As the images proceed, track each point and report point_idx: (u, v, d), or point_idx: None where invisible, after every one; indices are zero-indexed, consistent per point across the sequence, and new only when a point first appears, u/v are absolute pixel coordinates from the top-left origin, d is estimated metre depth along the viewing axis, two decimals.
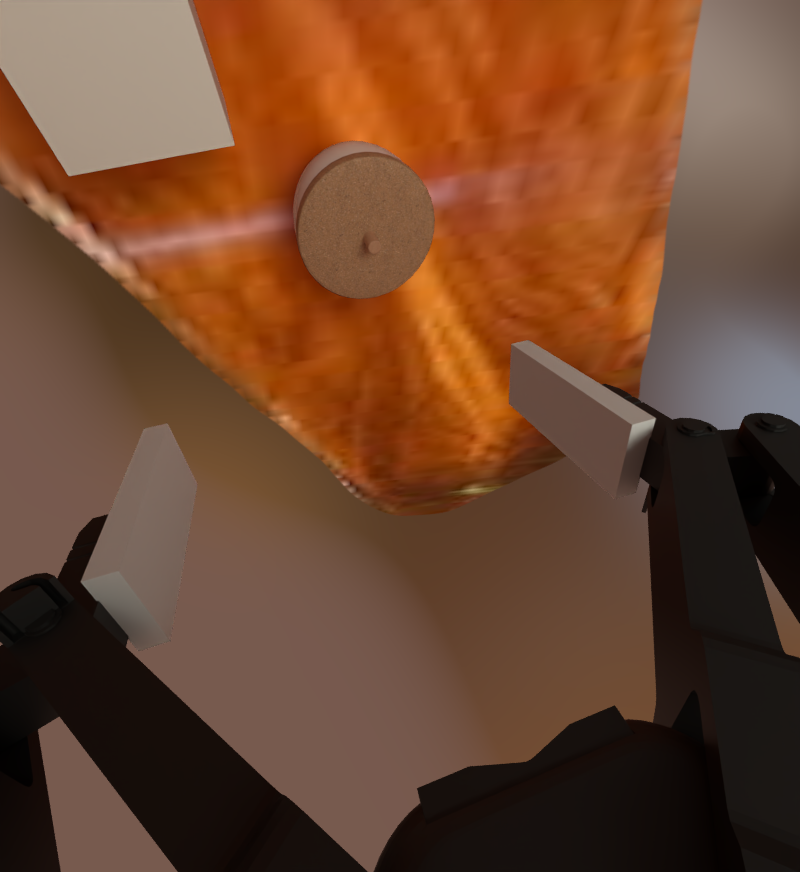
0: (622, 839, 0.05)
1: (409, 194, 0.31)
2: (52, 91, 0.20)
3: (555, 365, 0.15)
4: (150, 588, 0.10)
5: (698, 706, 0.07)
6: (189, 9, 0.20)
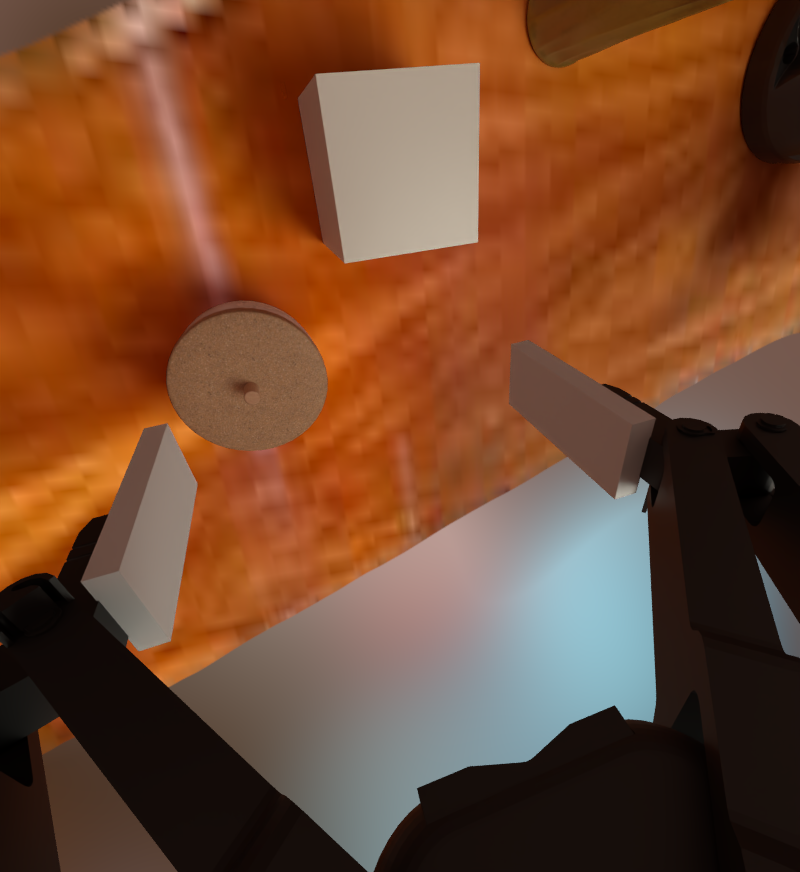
0: (622, 839, 0.05)
1: (297, 420, 0.32)
2: (385, 106, 0.23)
3: (555, 365, 0.15)
4: (150, 588, 0.10)
5: (698, 706, 0.07)
6: (428, 249, 0.27)
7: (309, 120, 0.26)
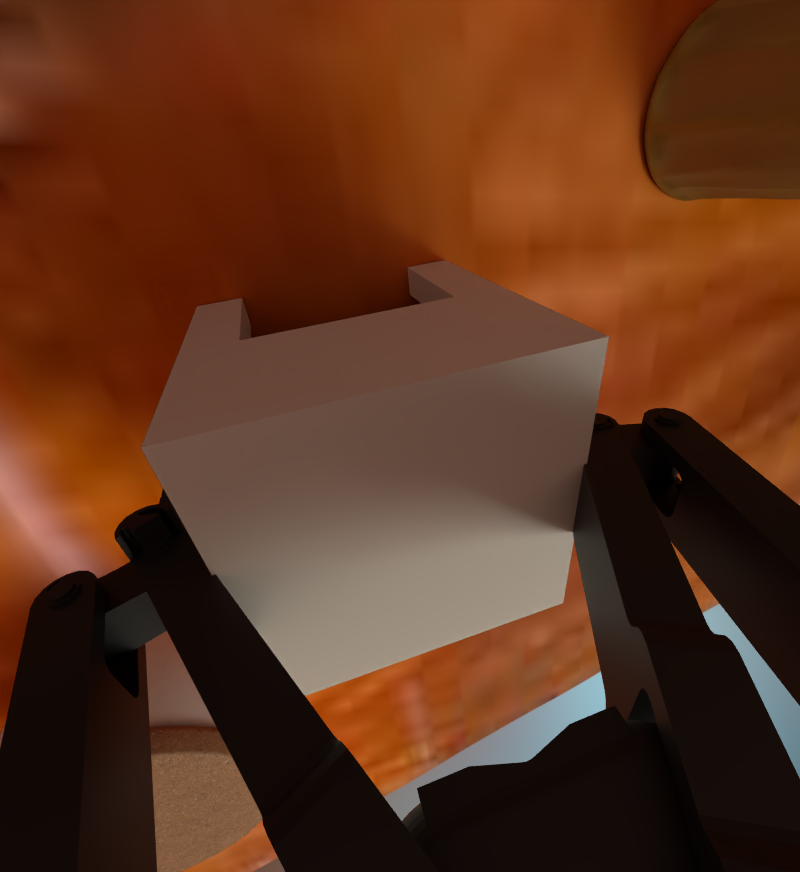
0: (621, 839, 0.05)
1: (225, 838, 0.18)
2: (358, 465, 0.09)
3: None
4: None
5: (647, 701, 0.07)
6: (463, 637, 0.13)
7: None
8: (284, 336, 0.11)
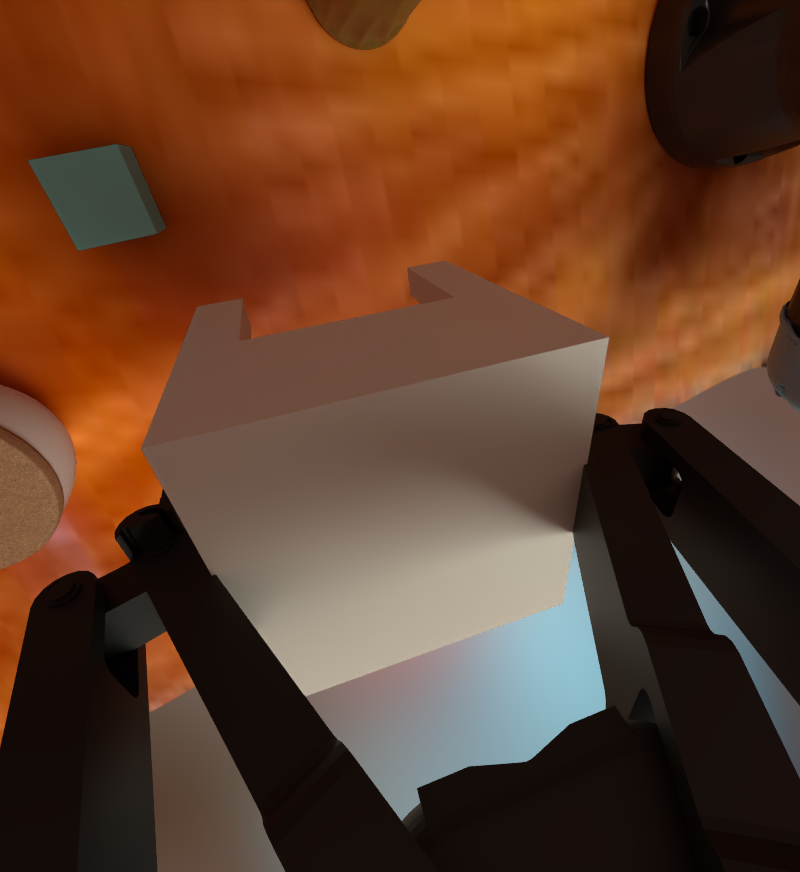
0: (621, 839, 0.05)
1: (21, 536, 0.24)
2: (359, 465, 0.09)
3: None
4: None
5: (647, 701, 0.07)
6: (463, 638, 0.13)
7: None
8: (285, 337, 0.11)
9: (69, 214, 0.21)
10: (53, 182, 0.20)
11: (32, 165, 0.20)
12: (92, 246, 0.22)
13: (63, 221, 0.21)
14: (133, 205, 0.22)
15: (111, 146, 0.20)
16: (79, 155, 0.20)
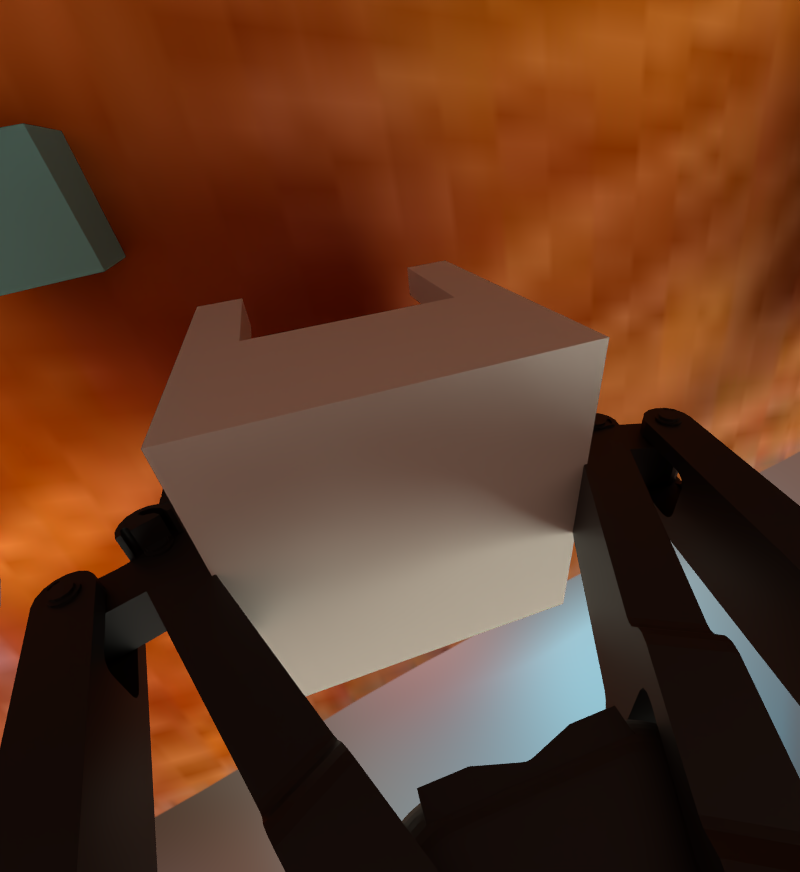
0: (621, 839, 0.05)
1: None
2: (359, 466, 0.09)
3: None
4: None
5: (647, 701, 0.07)
6: (463, 638, 0.13)
7: None
8: (284, 337, 0.11)
9: None
10: None
11: None
12: None
13: None
14: (61, 227, 0.13)
15: (13, 127, 0.12)
16: None
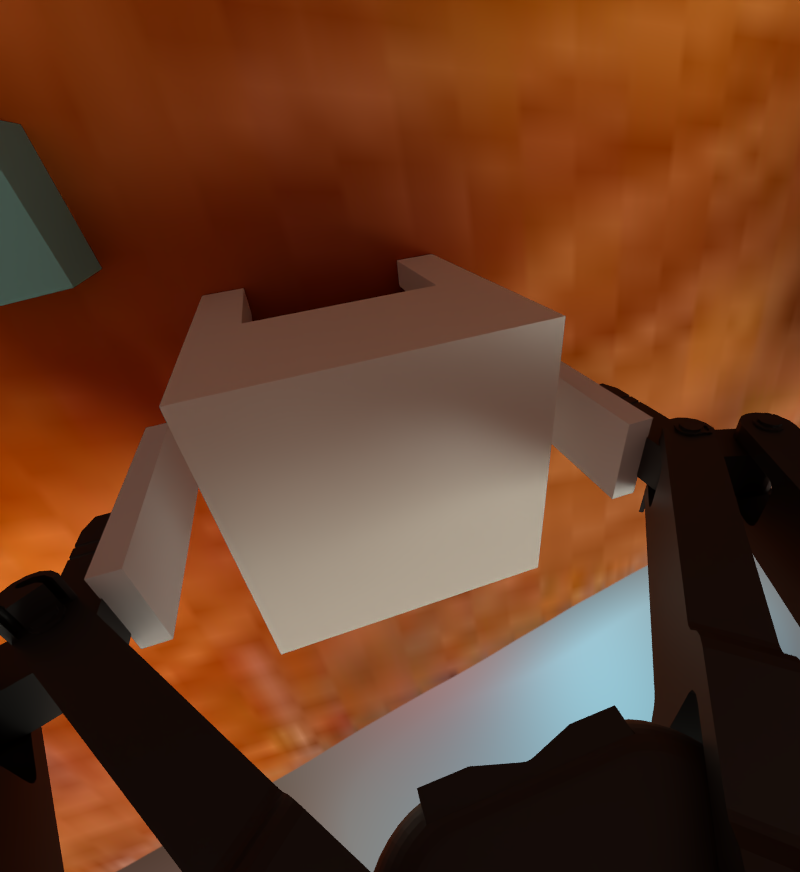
0: (622, 839, 0.05)
1: None
2: (346, 428, 0.10)
3: None
4: (152, 586, 0.10)
5: (696, 706, 0.07)
6: (446, 597, 0.14)
7: None
8: (282, 319, 0.12)
9: None
10: None
11: None
12: None
13: None
14: (19, 237, 0.11)
15: None
16: None
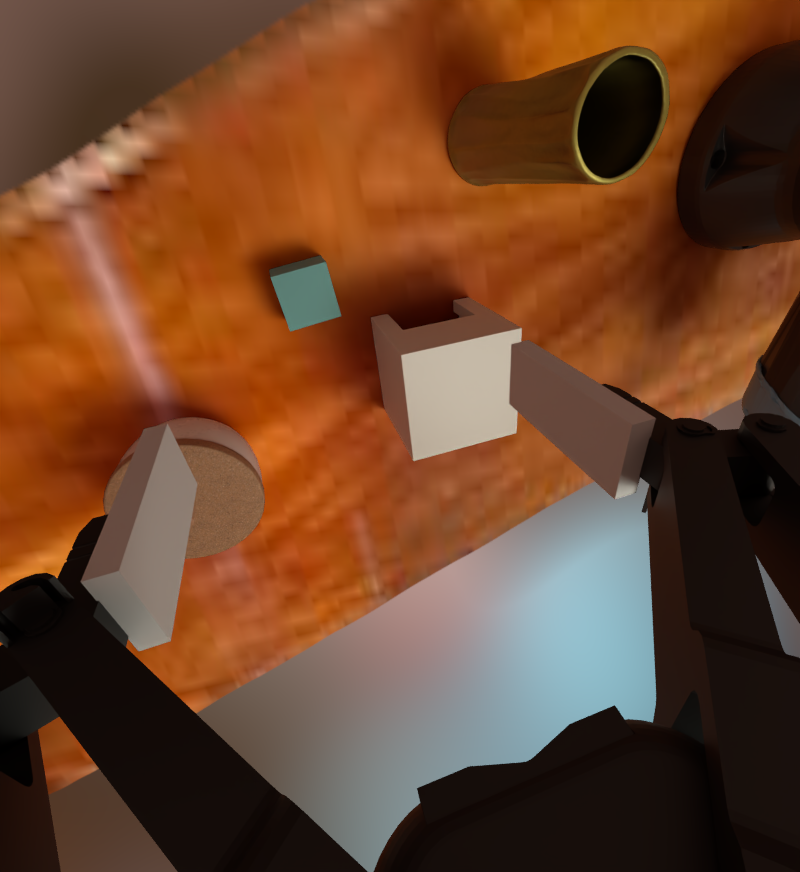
0: (622, 839, 0.05)
1: (237, 530, 0.33)
2: (450, 364, 0.30)
3: (555, 365, 0.15)
4: (150, 588, 0.10)
5: (698, 706, 0.07)
6: (477, 442, 0.34)
7: (384, 350, 0.33)
8: (419, 328, 0.32)
9: (289, 308, 0.31)
10: (283, 289, 0.30)
11: (272, 280, 0.30)
12: (299, 327, 0.32)
13: (284, 313, 0.31)
14: (329, 299, 0.31)
15: (322, 263, 0.30)
16: (301, 271, 0.30)
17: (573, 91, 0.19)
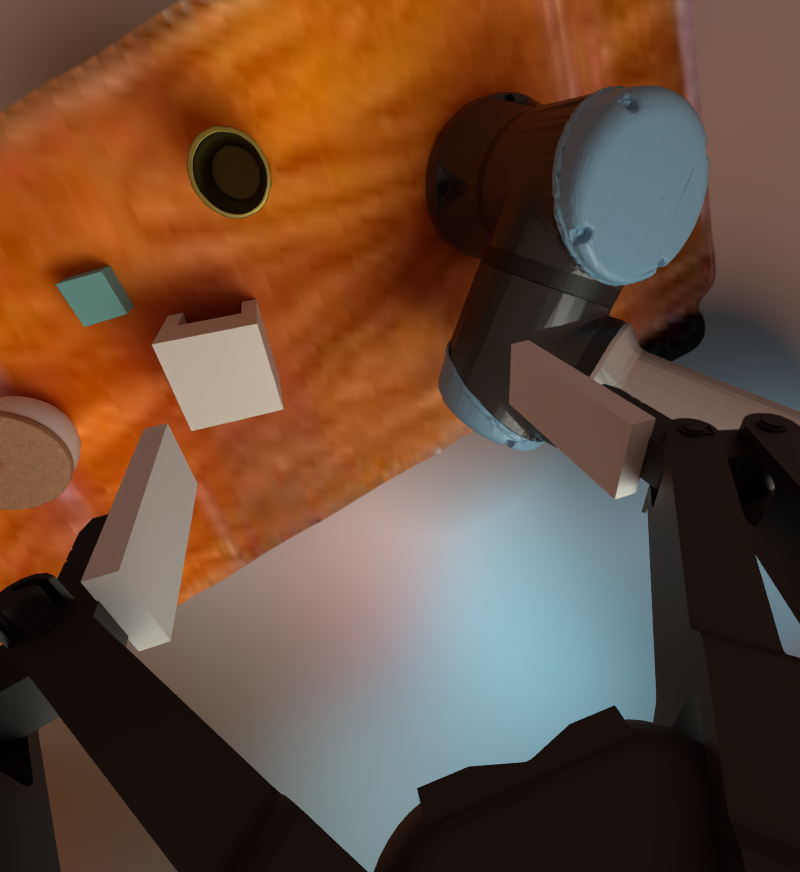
0: (621, 839, 0.05)
1: (49, 486, 0.42)
2: (200, 352, 0.38)
3: (555, 365, 0.15)
4: (150, 588, 0.10)
5: (698, 706, 0.07)
6: (248, 417, 0.43)
7: None
8: (189, 324, 0.40)
9: (78, 308, 0.39)
10: (69, 293, 0.38)
11: (58, 286, 0.38)
12: (91, 323, 0.40)
13: (75, 312, 0.39)
14: (112, 300, 0.39)
15: (98, 272, 0.38)
16: (82, 279, 0.38)
17: None
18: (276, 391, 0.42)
